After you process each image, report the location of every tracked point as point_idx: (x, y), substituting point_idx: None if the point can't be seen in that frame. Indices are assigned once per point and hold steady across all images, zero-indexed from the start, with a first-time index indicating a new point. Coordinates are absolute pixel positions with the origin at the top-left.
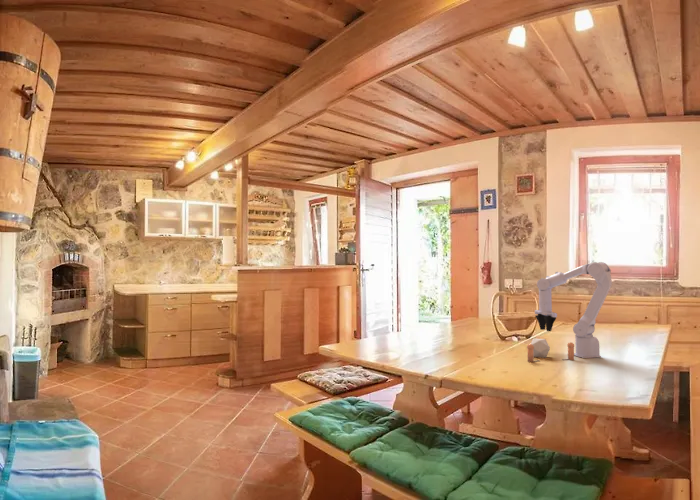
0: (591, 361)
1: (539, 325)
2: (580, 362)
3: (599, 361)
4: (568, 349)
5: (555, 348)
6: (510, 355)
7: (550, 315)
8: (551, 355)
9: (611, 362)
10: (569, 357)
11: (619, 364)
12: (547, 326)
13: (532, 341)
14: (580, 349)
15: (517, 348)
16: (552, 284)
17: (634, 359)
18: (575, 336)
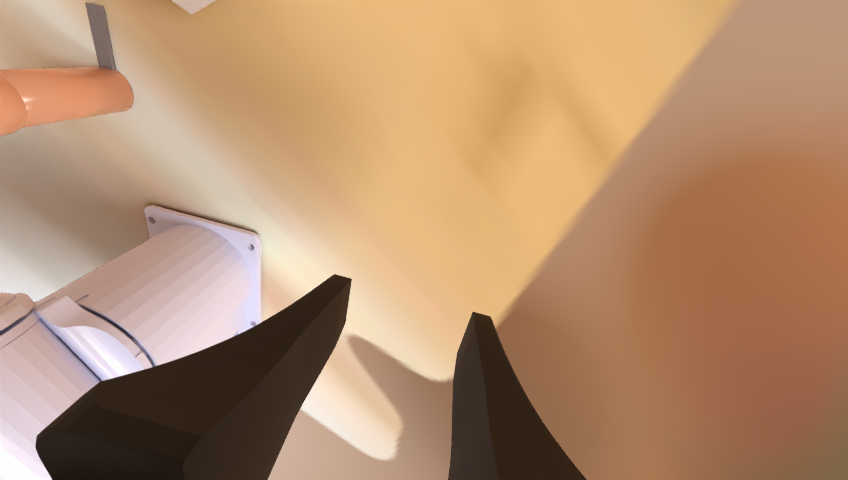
0: (65, 169)
1: (503, 354)
2: (24, 67)
3: (70, 211)
4: (16, 69)
5: (465, 325)
6: None
7: None
8: (269, 77)
9: (51, 244)
10: (84, 67)
11: (6, 236)
12: (288, 308)
13: None
14: (143, 245)
15: (660, 35)
16: None
17: None
18: (121, 326)
